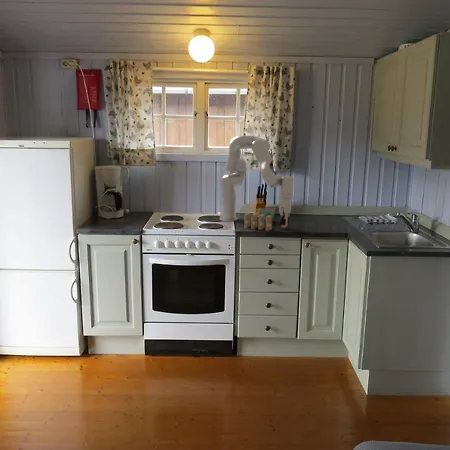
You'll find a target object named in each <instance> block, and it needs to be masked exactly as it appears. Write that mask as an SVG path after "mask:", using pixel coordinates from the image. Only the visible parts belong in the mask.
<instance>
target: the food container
mask: <svg viewBox="0 0 450 450" xmlns="http://www.w3.org/2000/svg"><path fill="white" fill-rule="evenodd" d="M276 210H277V209H276V207H275V206H274V207H272V208H271V207H269V208H268V207H267V208H261V207H259V208H258V212H259V216H260V215H265V224H266V217H267V216H269V215H270V216H272V224H273V223H274V221H275V220H274V217H275V212H276Z"/></svg>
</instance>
